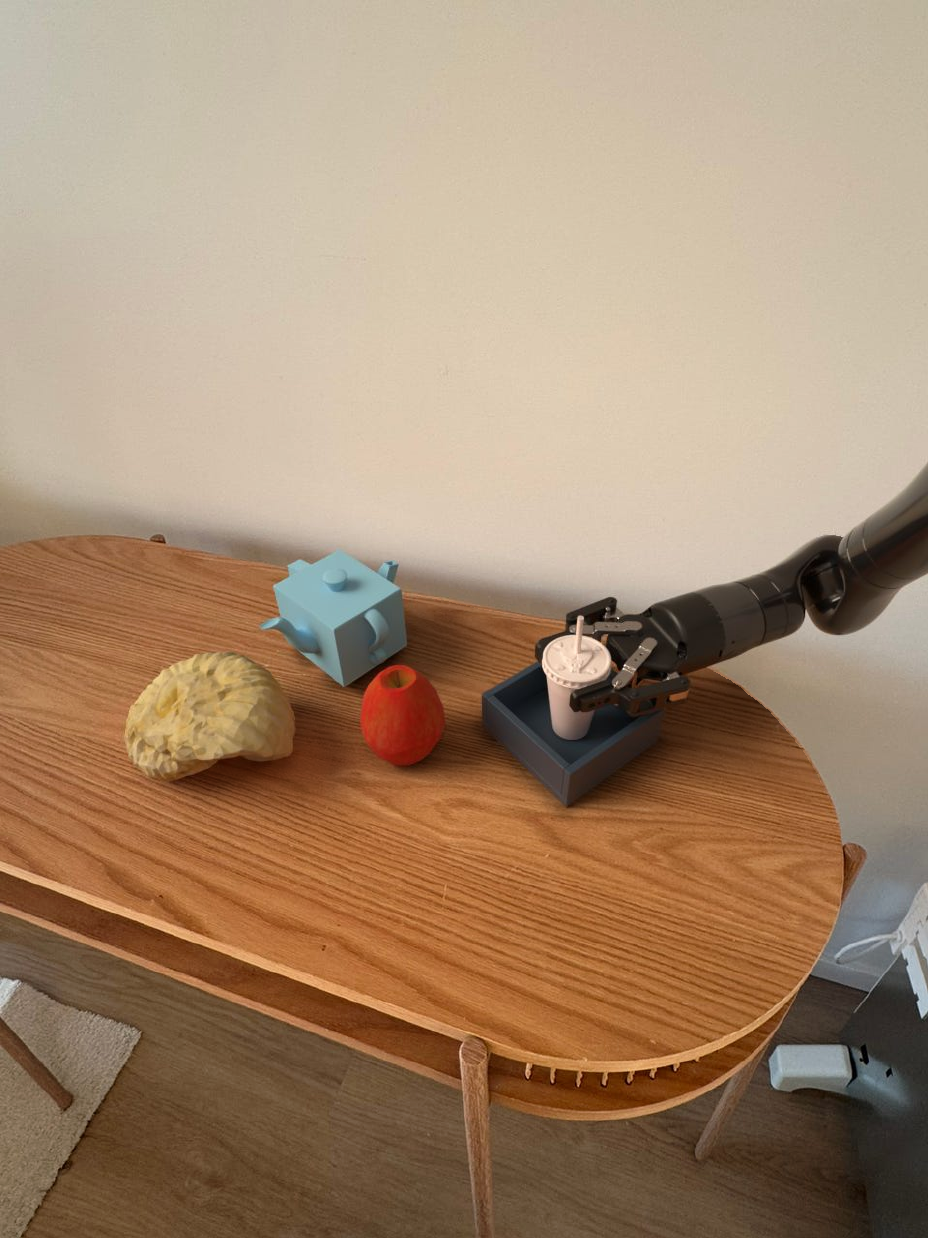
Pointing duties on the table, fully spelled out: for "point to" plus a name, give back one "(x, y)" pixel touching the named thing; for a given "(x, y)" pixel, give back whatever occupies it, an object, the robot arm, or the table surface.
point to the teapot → (341, 614)
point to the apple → (401, 716)
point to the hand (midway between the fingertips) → (554, 677)
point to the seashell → (208, 717)
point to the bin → (555, 762)
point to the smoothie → (573, 678)
